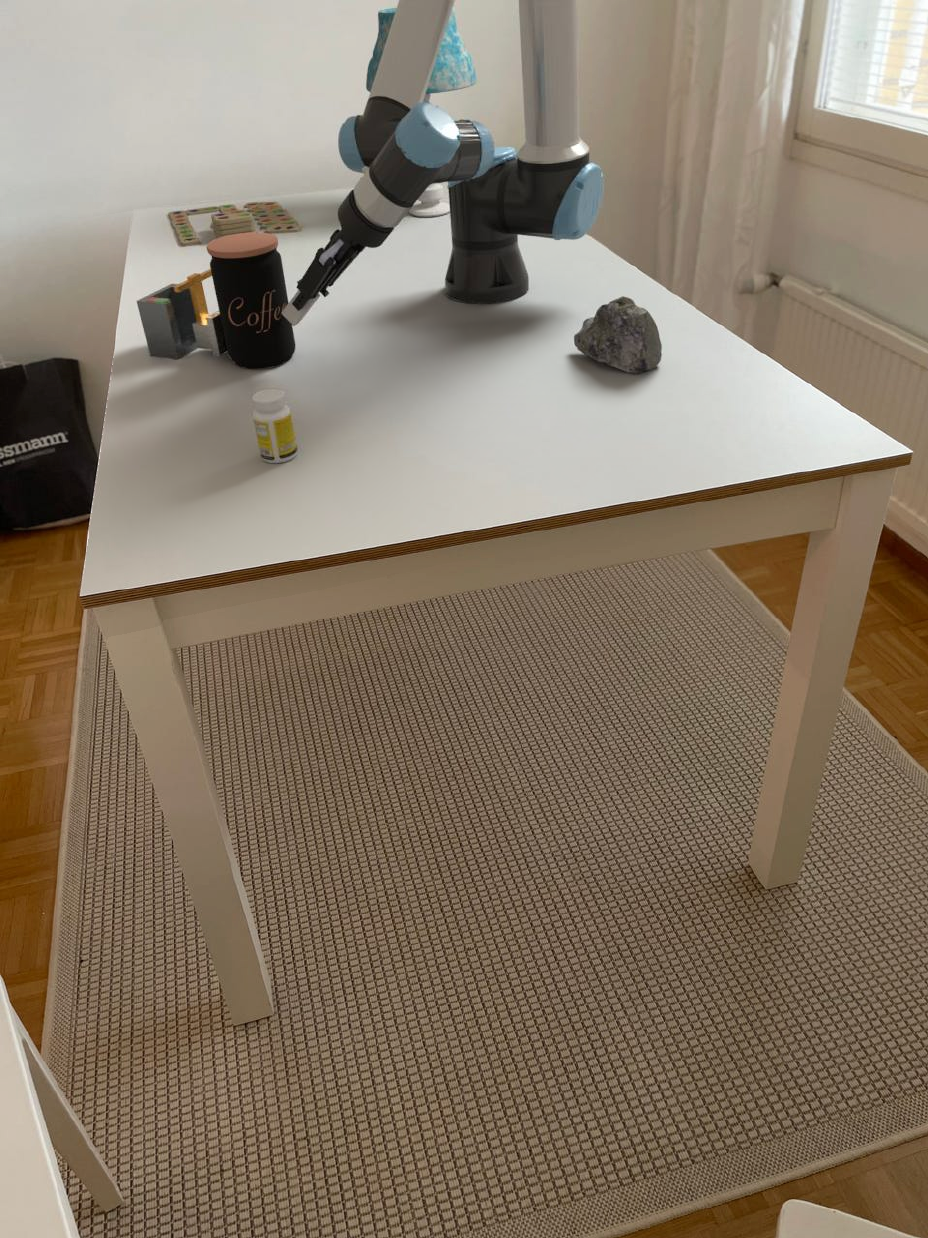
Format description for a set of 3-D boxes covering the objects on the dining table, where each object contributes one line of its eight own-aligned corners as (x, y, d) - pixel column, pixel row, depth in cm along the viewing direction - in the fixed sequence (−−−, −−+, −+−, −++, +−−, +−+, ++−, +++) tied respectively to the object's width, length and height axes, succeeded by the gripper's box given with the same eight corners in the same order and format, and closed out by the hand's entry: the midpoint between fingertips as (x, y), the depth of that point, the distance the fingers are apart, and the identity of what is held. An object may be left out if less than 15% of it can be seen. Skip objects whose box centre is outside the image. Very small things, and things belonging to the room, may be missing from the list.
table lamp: (369, 207, 233) (347, 9, 209) (464, 194, 238) (454, 0, 214) (393, 231, 214) (373, 17, 191) (496, 216, 219) (489, 6, 196)
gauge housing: (211, 339, 165) (199, 284, 159) (178, 359, 158) (164, 301, 153) (184, 336, 167) (171, 281, 162) (150, 355, 160) (135, 299, 155)
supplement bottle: (299, 446, 130) (289, 386, 125) (296, 462, 126) (285, 401, 121) (263, 448, 130) (251, 389, 125) (258, 465, 126) (246, 404, 121)
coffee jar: (232, 375, 152) (207, 255, 141) (227, 351, 160) (204, 237, 149) (300, 364, 153) (281, 246, 143) (292, 341, 162) (274, 228, 151)
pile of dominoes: (306, 234, 219) (302, 208, 216) (183, 252, 212) (177, 225, 209) (277, 201, 246) (273, 178, 242) (167, 217, 239) (162, 192, 236)
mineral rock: (570, 350, 152) (570, 285, 146) (636, 341, 154) (639, 276, 148) (597, 381, 142) (599, 312, 136) (667, 371, 143) (672, 302, 137)
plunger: (250, 336, 161) (237, 268, 155) (217, 357, 155) (202, 286, 148) (222, 333, 163) (208, 266, 157) (188, 353, 157) (172, 283, 150)
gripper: (377, 175, 139) (294, 286, 154) (331, 197, 129) (248, 313, 145) (414, 216, 140) (328, 322, 155) (371, 241, 130) (284, 351, 146)
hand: (290, 317), depth 150 cm, fingers closed
